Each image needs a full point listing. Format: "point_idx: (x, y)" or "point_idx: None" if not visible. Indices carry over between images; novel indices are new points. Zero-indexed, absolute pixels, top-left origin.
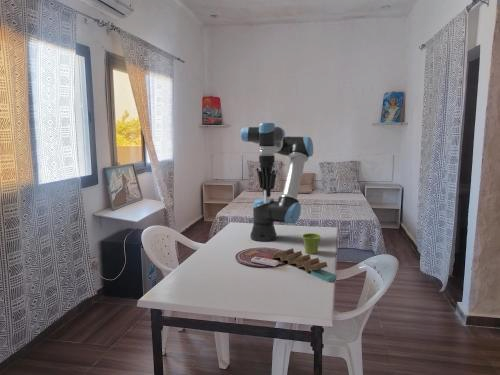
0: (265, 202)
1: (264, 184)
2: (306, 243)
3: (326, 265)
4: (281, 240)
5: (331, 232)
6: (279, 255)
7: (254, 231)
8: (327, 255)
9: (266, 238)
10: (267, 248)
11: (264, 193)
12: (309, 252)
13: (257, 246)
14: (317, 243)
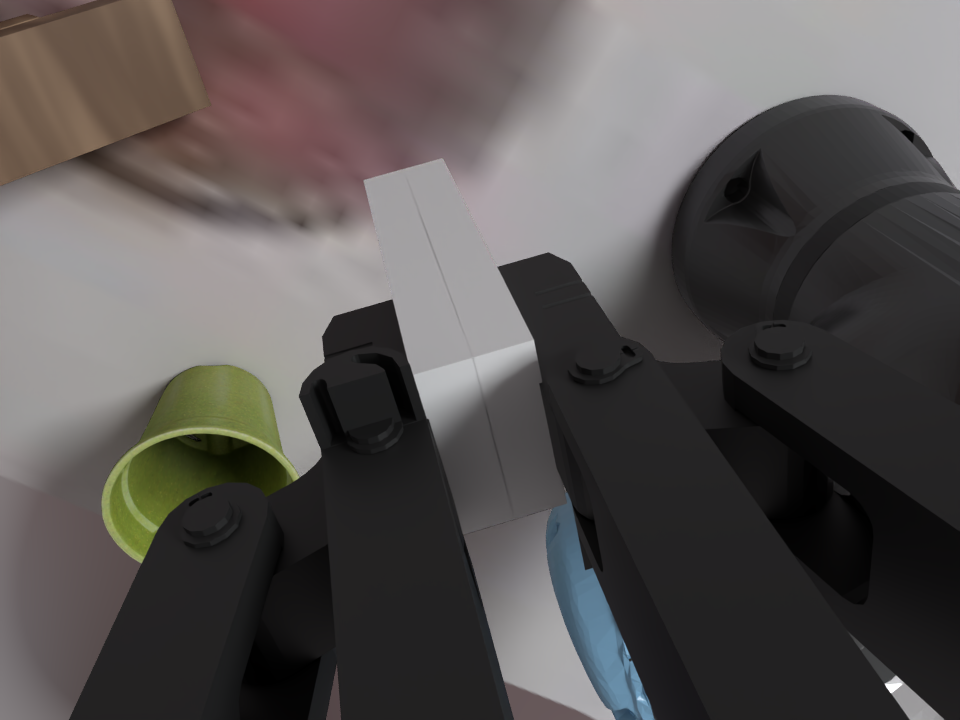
0: (377, 185)
1: (606, 524)
2: (183, 411)
3: None
4: (629, 332)
5: (574, 700)
6: (39, 20)
7: (850, 141)
8: (88, 479)
9: (696, 208)
10: (498, 102)
11: (465, 287)
12: (173, 381)
13: (609, 36)
14: (140, 491)
